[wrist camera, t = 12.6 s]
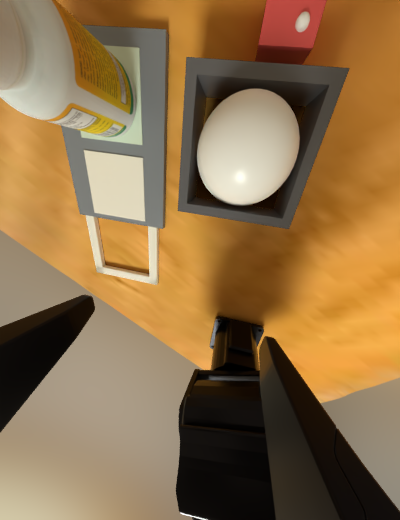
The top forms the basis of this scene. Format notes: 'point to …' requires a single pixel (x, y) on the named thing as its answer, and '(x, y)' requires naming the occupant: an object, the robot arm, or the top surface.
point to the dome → (248, 147)
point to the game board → (127, 149)
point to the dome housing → (272, 79)
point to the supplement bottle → (61, 70)
